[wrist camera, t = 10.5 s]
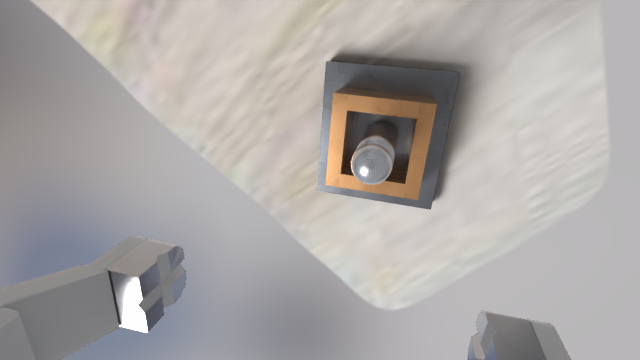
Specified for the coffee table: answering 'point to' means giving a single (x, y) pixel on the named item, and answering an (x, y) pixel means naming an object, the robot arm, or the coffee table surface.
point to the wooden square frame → (385, 104)
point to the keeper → (387, 127)
